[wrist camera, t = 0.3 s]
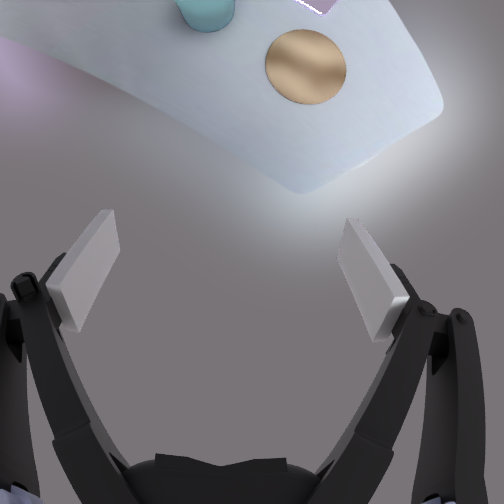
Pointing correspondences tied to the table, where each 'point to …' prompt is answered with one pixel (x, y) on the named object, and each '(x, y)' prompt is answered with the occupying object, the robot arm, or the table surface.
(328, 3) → the mobile phone
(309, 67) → the coaster
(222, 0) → the bottle
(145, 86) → the table surface
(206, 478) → the robot arm
